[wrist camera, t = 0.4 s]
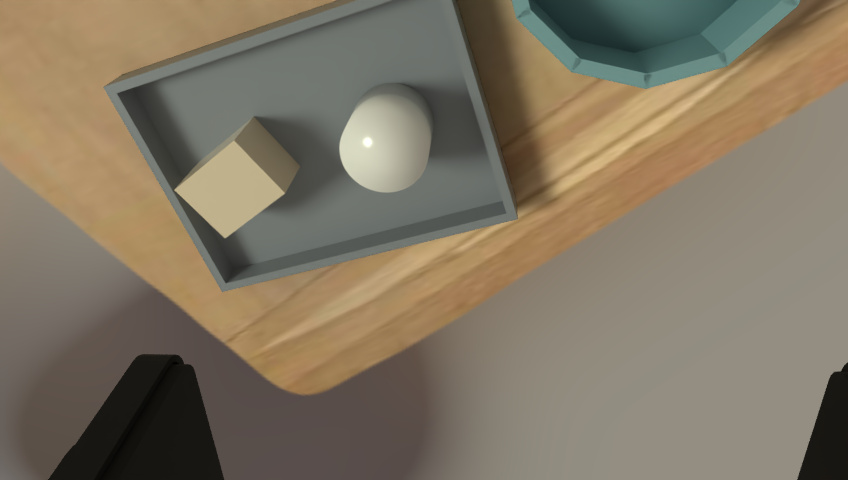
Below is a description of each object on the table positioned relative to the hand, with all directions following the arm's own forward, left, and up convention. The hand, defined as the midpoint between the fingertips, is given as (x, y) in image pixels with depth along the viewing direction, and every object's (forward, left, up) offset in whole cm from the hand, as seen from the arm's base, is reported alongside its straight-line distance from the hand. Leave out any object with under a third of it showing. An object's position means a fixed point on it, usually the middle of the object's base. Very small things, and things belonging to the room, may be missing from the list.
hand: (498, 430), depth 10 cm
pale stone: (+6, -8, -33) cm, 35 cm away
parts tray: (+6, -13, -34) cm, 37 cm away
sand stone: (+6, -19, -33) cm, 39 cm away
